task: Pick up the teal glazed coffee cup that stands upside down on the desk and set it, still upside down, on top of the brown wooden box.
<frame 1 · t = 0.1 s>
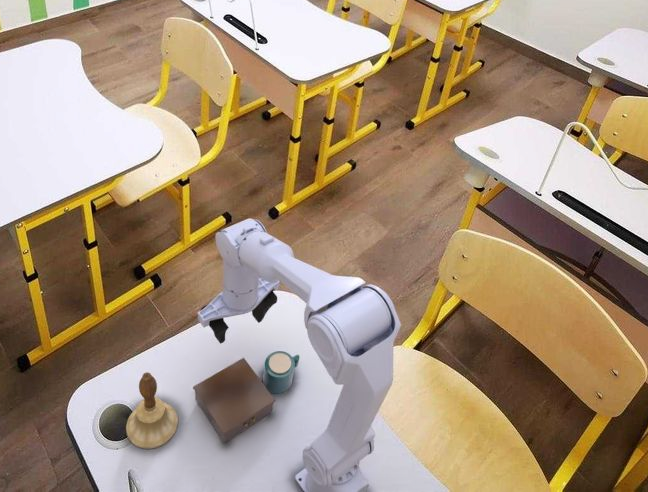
hand: (238, 328, 102), 10 cm above the table, tool pointing down, fingers open, 7 cm apart
brown wooden box: (233, 407, 102), on the table
cup: (277, 380, 107), on the table
hand bell: (152, 425, 98), on the table
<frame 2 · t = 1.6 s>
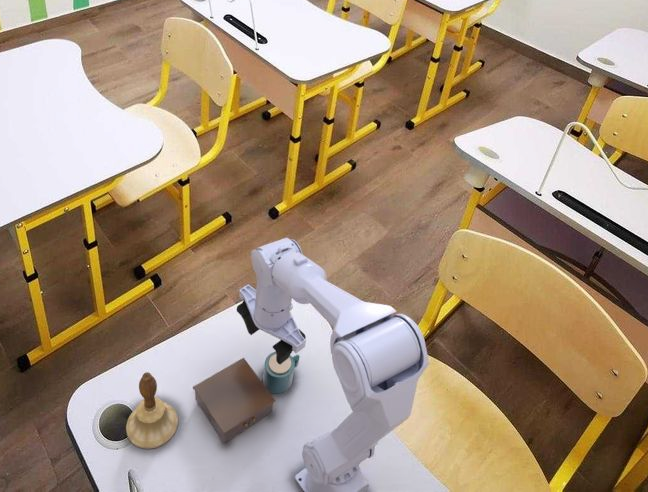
hand: (268, 345, 101), 10 cm above the table, tool pointing down, fingers open, 7 cm apart
nothing on the table moved.
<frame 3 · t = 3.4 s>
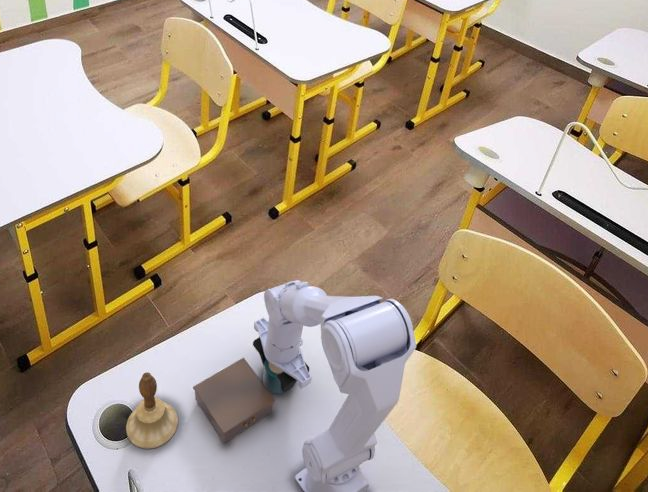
hand: (278, 376, 106), 1 cm above the table, tool pointing down, fingers closed on cup, 5 cm apart
cup: (277, 380, 107), on the table, touching gripper
everything else where it was.
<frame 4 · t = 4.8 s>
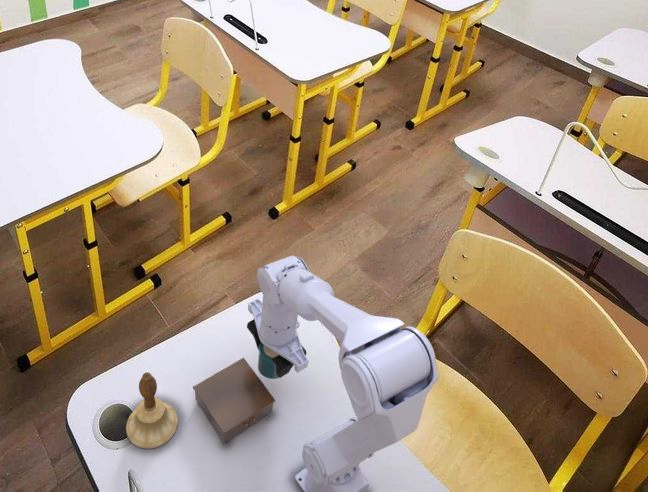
hand: (273, 361, 101), 8 cm above the table, tool pointing down, fingers closed on cup, 5 cm apart
cup: (273, 365, 102), point 7 cm above the table, touching gripper
everything else where it was.
when the fingers open (6 cm above the table, at t = 6.7 s): cup stays where it is, resting on brown wooden box.
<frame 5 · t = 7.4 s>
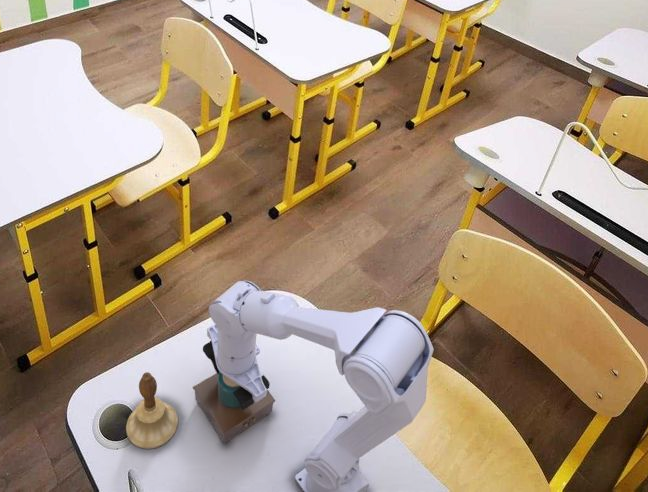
hand: (234, 387, 97), 7 cm above the table, tool pointing down, fingers open, 7 cm apart
cup: (234, 393, 99), point 5 cm above the table, touching brown wooden box
everything else where it was.
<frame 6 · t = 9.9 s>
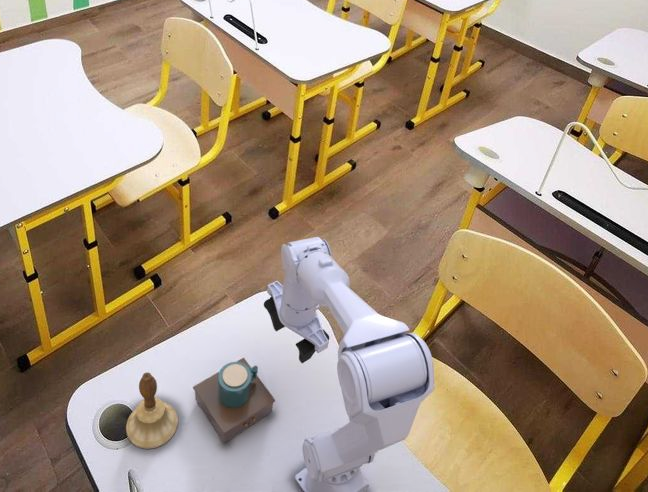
hand: (292, 343, 101), 10 cm above the table, tool pointing down, fingers open, 7 cm apart
nothing on the table moved.
at the end: cup 0.1 cm off-centre on the brown wooden box, point 5.0 cm above the brown wooden box's base; cup tilted 0°; the gripper is holding nothing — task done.
